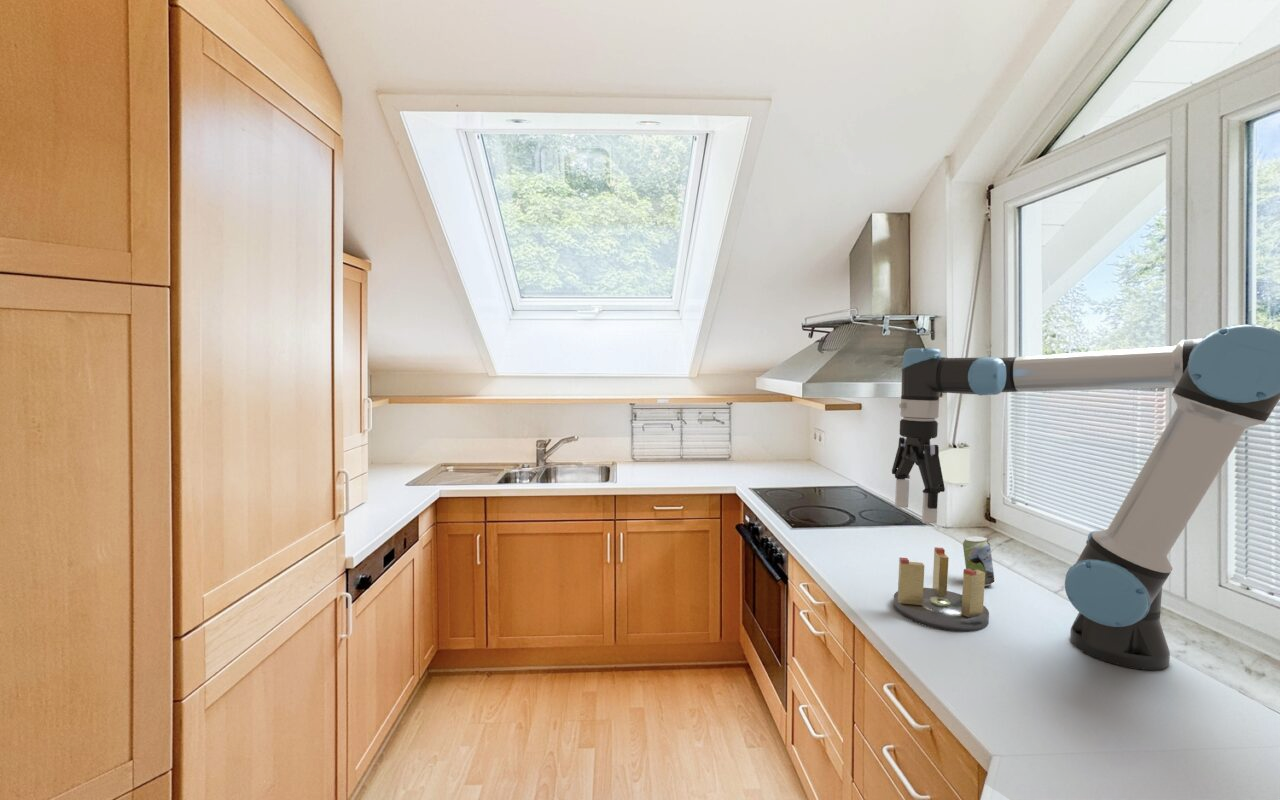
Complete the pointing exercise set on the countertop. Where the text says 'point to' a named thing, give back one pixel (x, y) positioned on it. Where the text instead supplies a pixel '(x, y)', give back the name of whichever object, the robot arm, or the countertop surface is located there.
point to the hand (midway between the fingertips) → (914, 514)
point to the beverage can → (979, 556)
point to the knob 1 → (910, 582)
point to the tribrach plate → (942, 612)
